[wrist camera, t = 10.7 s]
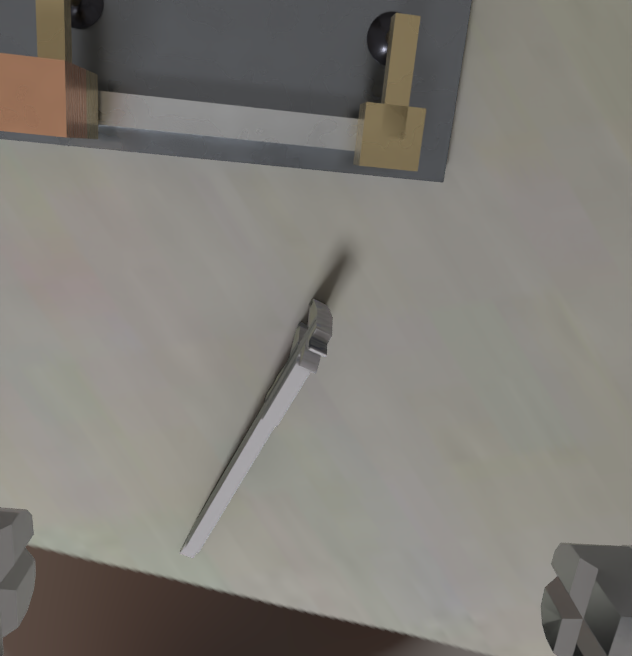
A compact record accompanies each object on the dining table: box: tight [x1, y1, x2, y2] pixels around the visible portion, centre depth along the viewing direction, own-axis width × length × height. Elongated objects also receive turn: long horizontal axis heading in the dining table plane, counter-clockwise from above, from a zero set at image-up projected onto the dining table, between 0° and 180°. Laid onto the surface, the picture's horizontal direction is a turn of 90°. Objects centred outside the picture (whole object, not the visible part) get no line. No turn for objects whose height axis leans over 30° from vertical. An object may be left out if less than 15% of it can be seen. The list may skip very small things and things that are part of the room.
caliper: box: [180, 299, 333, 558], centre depth 36 cm, size 20×1×6 cm, turn 153°
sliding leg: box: [0, 0, 98, 139], centre depth 26 cm, size 3×7×6 cm, turn 175°
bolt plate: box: [0, 0, 472, 182], centre depth 29 cm, size 26×10×5 cm, turn 85°
